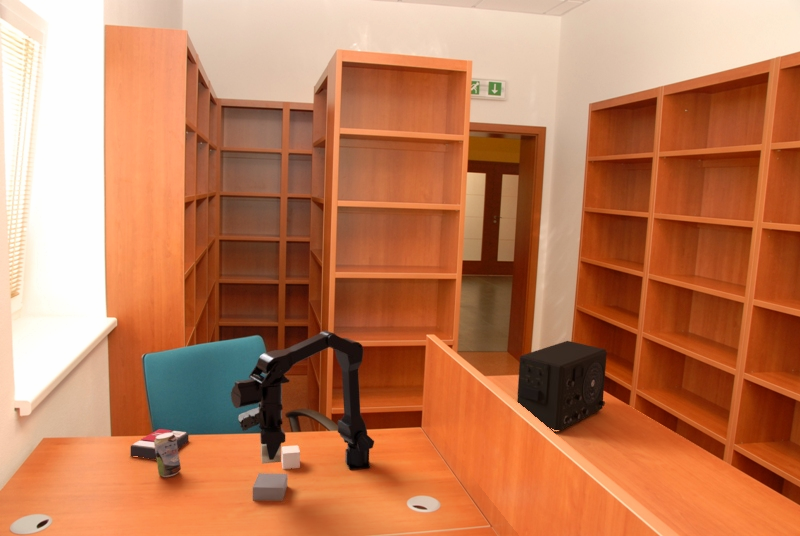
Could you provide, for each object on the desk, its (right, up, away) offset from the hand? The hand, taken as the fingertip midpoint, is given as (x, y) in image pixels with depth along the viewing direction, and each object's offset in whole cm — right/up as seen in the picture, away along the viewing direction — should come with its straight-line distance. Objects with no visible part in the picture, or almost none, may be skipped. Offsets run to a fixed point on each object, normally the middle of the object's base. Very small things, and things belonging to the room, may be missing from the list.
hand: (270, 455), depth 166 cm
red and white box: (-41, -7, +27) cm, 49 cm away
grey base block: (0, -11, +2) cm, 11 cm away
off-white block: (+2, -9, +19) cm, 21 cm away
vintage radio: (+96, -6, +64) cm, 116 cm away
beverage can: (-32, -9, +10) cm, 35 cm away
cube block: (0, -1, 0) cm, 1 cm away
